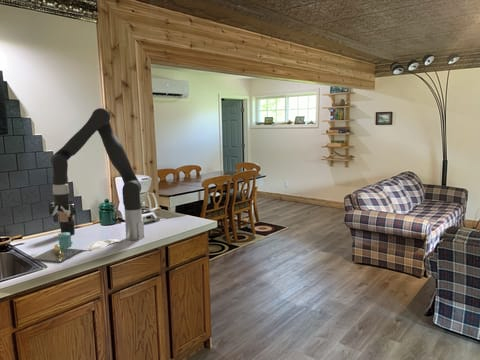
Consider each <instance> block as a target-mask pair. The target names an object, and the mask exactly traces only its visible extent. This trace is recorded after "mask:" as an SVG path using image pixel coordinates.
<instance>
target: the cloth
mask: <svg viewBox="0 0 480 360" xmlns="http://www.w3.org/2000/svg"><path fill="white" fill-rule="evenodd" d="M121 240H123V238H116V239H113V238H111V239H110V238H109V239H106V240H100V241H95V242H93V243H91V244H92V245H91V244H90V245H88V246H87V247H86V248H85V249H81V250H82V251H83V252H84V251H90V252H92V251H95V250H100V249H104V248H106V247H108V246H109V245H111V244H115V243H116V244H117V243H119V242H121Z"/></svg>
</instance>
